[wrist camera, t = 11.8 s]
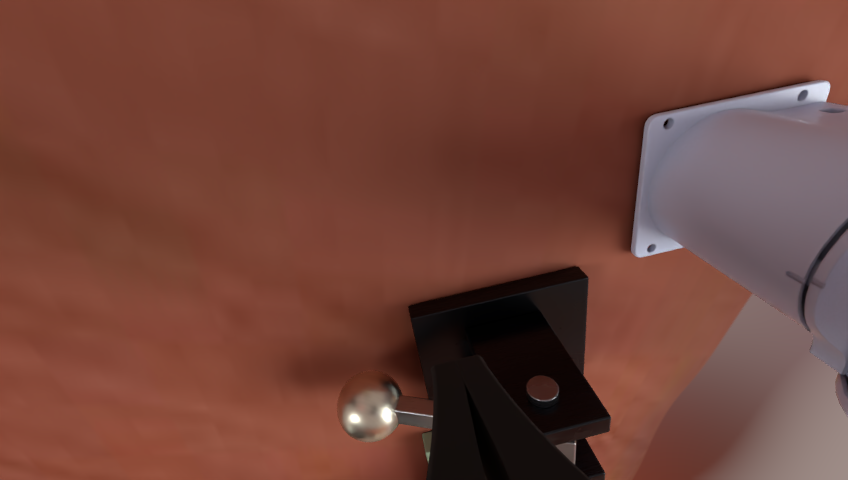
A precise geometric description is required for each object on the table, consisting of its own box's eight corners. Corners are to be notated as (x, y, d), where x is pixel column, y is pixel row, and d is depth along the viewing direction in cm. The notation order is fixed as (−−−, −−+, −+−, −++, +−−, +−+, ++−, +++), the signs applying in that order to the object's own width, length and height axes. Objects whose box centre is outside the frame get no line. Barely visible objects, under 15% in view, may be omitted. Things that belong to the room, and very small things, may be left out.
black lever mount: (429, 400, 27) (459, 542, 19) (407, 305, 23) (436, 438, 15) (574, 364, 27) (656, 488, 20) (578, 265, 23) (681, 375, 16)
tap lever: (361, 395, 25) (335, 450, 22) (347, 353, 23) (316, 407, 20) (572, 425, 21) (574, 495, 18) (574, 377, 19) (577, 447, 17)
